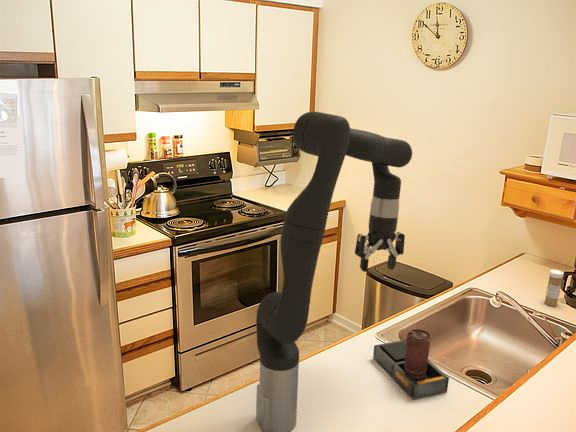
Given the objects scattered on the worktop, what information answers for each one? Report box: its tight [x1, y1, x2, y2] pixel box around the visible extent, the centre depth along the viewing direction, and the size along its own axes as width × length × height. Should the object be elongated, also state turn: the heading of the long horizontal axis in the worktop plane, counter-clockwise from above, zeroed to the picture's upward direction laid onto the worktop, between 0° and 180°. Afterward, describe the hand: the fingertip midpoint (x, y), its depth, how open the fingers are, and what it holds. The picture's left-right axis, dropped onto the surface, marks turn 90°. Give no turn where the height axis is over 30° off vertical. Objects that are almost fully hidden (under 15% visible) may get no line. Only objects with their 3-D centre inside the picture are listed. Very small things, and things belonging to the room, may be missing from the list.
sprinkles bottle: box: [544, 269, 564, 307], centre depth 193 cm, size 5×5×13 cm
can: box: [404, 329, 432, 383], centre depth 140 cm, size 6×6×14 cm
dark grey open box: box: [372, 339, 450, 401], centre depth 145 cm, size 11×21×5 cm, turn 21°
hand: (377, 269), depth 141 cm, fingers open, 8 cm apart
